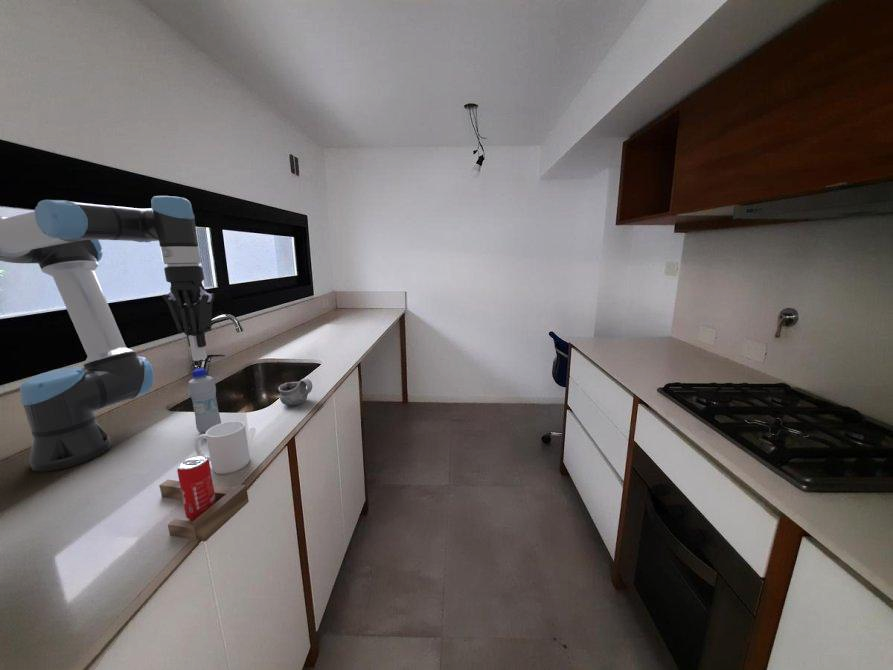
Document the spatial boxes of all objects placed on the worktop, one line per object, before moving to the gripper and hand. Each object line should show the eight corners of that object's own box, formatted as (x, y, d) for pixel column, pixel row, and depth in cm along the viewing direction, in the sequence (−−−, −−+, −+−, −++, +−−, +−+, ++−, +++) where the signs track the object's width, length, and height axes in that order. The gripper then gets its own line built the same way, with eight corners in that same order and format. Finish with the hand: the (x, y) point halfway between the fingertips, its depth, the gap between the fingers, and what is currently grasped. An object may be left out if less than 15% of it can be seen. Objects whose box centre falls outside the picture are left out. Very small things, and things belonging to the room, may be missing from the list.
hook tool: (117, 527, 70) (113, 509, 69) (170, 491, 80) (166, 475, 79) (205, 541, 66) (201, 523, 65) (248, 501, 76) (246, 485, 75)
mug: (290, 398, 133) (287, 372, 130) (321, 399, 131) (319, 373, 129) (274, 409, 123) (271, 381, 121) (308, 410, 121) (305, 382, 119)
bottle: (191, 434, 106) (179, 371, 102) (213, 424, 112) (202, 364, 108) (206, 438, 104) (194, 373, 99) (228, 428, 110) (217, 366, 105)
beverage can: (205, 524, 70) (195, 470, 67) (180, 523, 70) (169, 469, 68) (222, 506, 75) (214, 455, 72) (199, 505, 75) (190, 454, 73)
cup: (240, 473, 86) (234, 435, 84) (189, 476, 85) (181, 438, 83) (255, 455, 94) (250, 420, 92) (208, 457, 93) (202, 422, 91)
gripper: (145, 266, 83) (165, 362, 88) (192, 265, 80) (209, 364, 85) (175, 265, 90) (191, 354, 95) (218, 264, 87) (233, 356, 93)
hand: (200, 359), depth 90 cm, fingers closed
